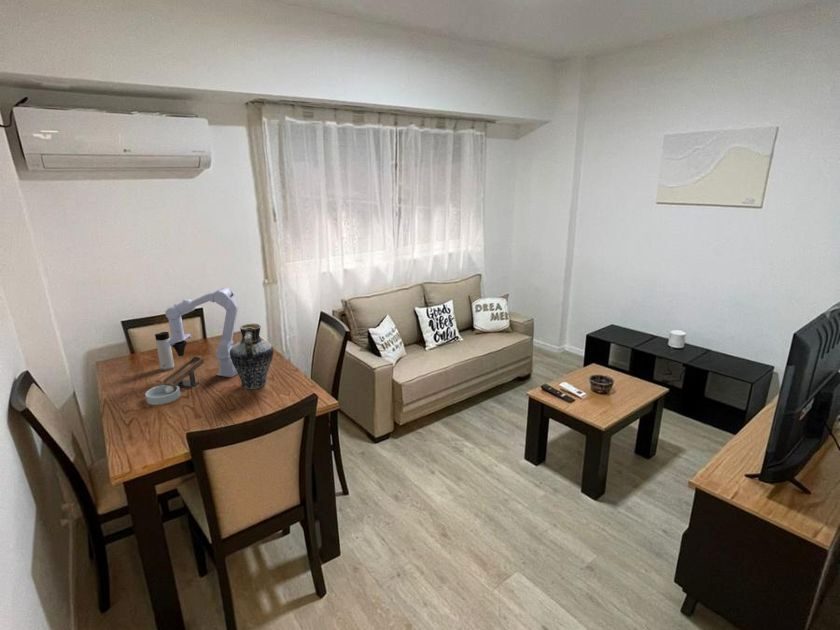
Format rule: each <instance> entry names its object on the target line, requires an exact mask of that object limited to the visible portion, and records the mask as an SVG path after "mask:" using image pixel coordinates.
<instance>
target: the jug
mask: <svg viewBox="0 0 840 630" xmlns="http://www.w3.org/2000/svg"><path fill="white" fill-rule="evenodd" d="M261 327H262V326H261V325H260V324H258V323H247V324H243V325H241V326H239V331H240V333H241V340H240V341H239V342H237V343H235V344H233V345H234V346H233V347H232V348H231V349H230V357H231V360H232V363H233V365H234V367H235V369H236V370H237V372H238V374H237V375H238V376H239V380H240V382H241V386H242V388H244V389H247V390H256V389H259V388H262V387H263V386H265V385H266V382H267V375H268V372H269V369H270V365H271V364H272V361H273V358H274V357H273V356H274V347H273V345H272V343H270V342H268V341H266V340H263V339H261V336H260V333H261Z"/></svg>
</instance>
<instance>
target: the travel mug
mask: <svg viewBox="0 0 840 630" xmlns="http://www.w3.org/2000/svg"><path fill="white" fill-rule="evenodd" d="M154 337H155V344H156V349H157V355H158V360H159V365H160V367H159V368H160V370H161V371H163V370H165V371H166V370H167V371H171V370H173V369H175V363H174V356H173V351H172V346H170V347H166V346H165V343H166V342H168V341H169V340H171V337H170V331H162V332H160V333H155V334H154ZM167 371H166V372H167Z"/></svg>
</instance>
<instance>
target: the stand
mask: <svg viewBox="0 0 840 630" xmlns="http://www.w3.org/2000/svg"><path fill="white" fill-rule="evenodd" d="M188 376H189V380H188V379H183V380H182V381H181V382H179V383H178V384H177V386H178V387H179V388H180V387H181V388H188V389H193V388H194V387H197V386H198V385H200V381H196V377H195V372H194V371H192V372H190V373H189V375H188Z"/></svg>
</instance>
